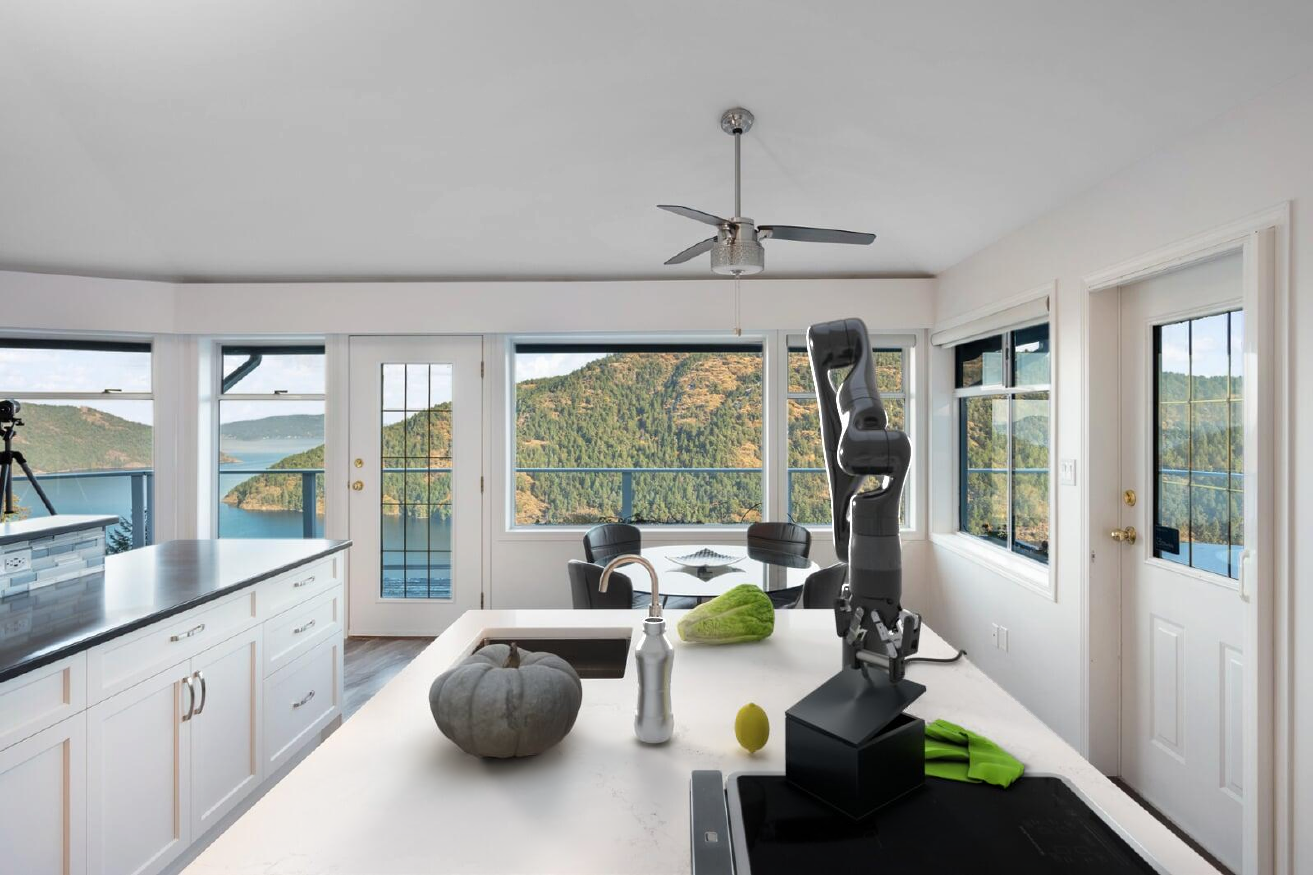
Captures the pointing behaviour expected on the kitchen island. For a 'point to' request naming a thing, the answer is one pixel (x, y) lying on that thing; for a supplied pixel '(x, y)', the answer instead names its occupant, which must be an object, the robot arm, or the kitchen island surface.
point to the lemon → (752, 727)
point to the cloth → (967, 756)
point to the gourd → (506, 701)
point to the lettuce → (730, 618)
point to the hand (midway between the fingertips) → (875, 674)
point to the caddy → (857, 767)
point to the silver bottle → (654, 683)
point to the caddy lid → (856, 701)
